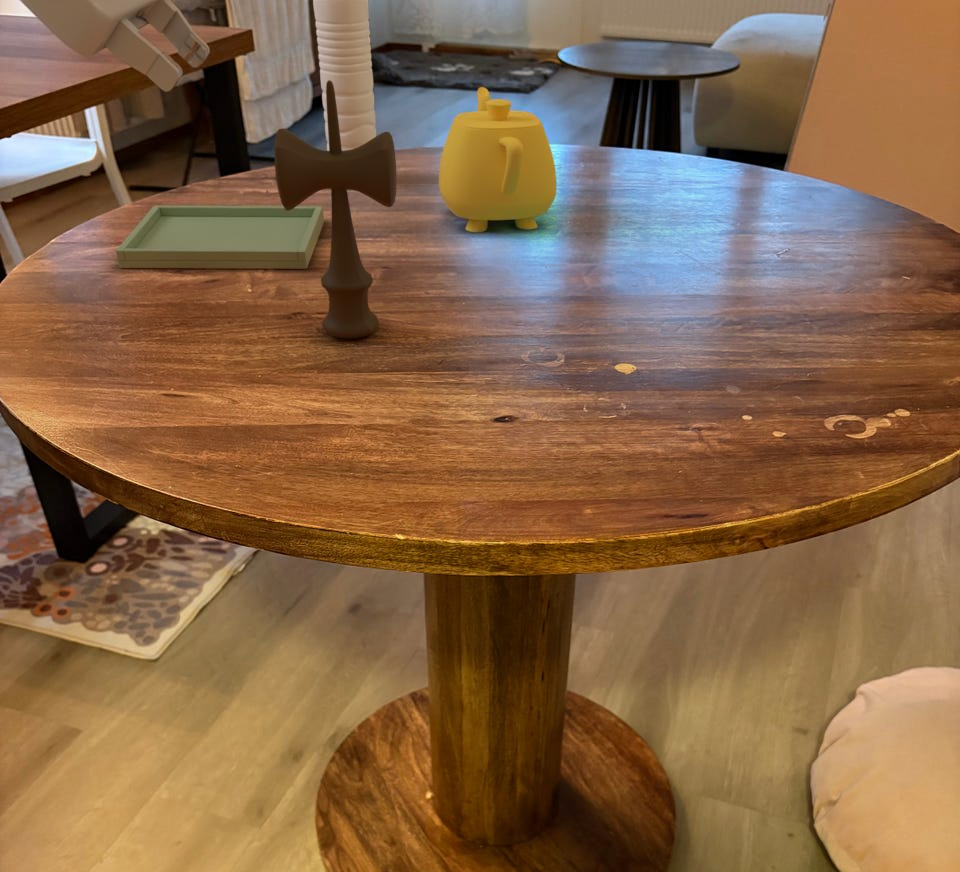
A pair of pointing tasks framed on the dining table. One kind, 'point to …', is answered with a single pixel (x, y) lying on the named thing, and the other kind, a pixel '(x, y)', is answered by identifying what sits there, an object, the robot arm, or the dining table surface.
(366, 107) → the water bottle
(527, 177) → the teapot
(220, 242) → the serving tray
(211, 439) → the dining table surface
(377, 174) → the kendama
